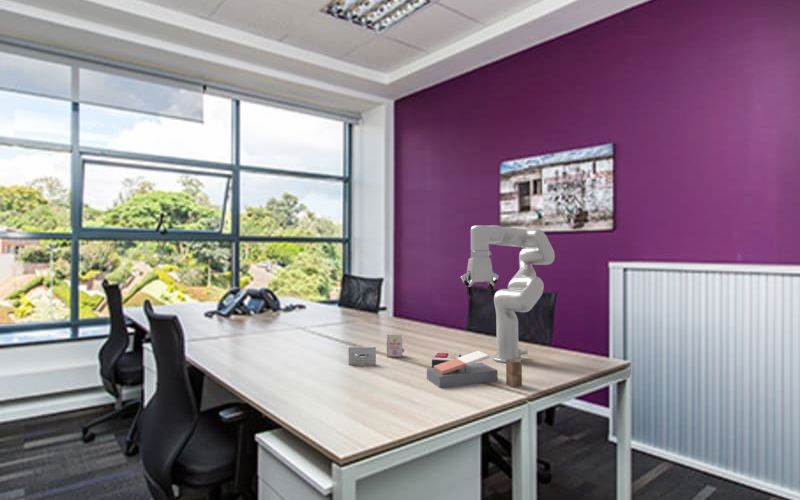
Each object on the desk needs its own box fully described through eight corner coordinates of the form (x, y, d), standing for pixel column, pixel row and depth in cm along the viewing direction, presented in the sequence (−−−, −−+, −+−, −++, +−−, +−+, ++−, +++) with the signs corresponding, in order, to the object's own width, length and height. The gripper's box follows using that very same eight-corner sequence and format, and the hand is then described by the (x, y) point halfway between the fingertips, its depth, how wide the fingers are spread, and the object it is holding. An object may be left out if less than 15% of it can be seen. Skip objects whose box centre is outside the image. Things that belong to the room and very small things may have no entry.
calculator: (461, 353, 202) (457, 359, 187) (461, 362, 202) (457, 370, 187) (436, 351, 204) (431, 358, 190) (437, 361, 204) (431, 368, 190)
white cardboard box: (388, 355, 213) (388, 333, 213) (402, 355, 213) (402, 334, 212) (387, 356, 210) (386, 335, 210) (401, 357, 209) (401, 335, 209)
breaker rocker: (479, 355, 180) (478, 350, 180) (490, 360, 172) (489, 355, 172) (434, 370, 173) (433, 365, 173) (443, 376, 165) (442, 371, 165)
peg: (515, 383, 168) (515, 359, 168) (521, 386, 164) (521, 361, 164) (506, 384, 167) (506, 359, 166) (512, 387, 163) (512, 362, 163)
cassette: (348, 365, 196) (348, 347, 196) (349, 363, 198) (348, 346, 198) (375, 365, 195) (375, 347, 195) (376, 364, 197) (376, 346, 197)
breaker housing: (481, 372, 182) (481, 357, 182) (497, 380, 171) (497, 364, 171) (426, 378, 174) (426, 362, 174) (439, 387, 163) (439, 370, 163)
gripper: (493, 254, 195) (493, 294, 195) (457, 255, 189) (457, 295, 189) (502, 254, 188) (503, 295, 188) (465, 255, 182) (465, 297, 182)
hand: (480, 295), depth 189 cm, fingers open, 9 cm apart
